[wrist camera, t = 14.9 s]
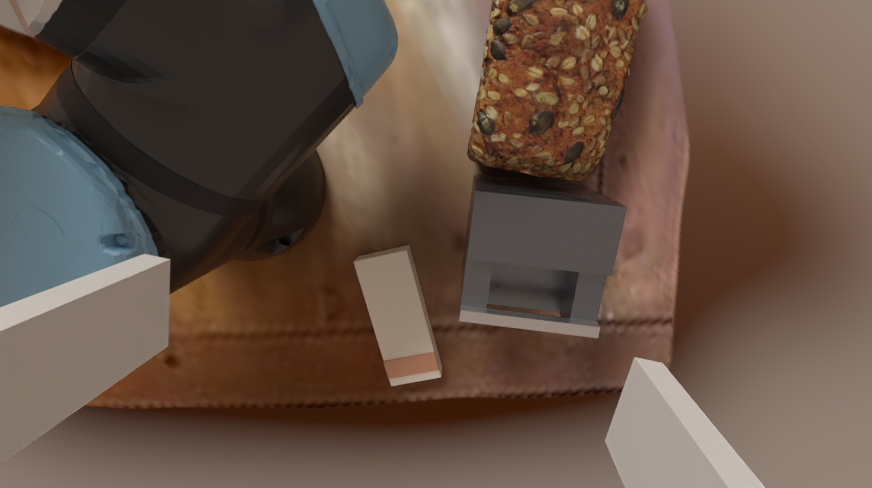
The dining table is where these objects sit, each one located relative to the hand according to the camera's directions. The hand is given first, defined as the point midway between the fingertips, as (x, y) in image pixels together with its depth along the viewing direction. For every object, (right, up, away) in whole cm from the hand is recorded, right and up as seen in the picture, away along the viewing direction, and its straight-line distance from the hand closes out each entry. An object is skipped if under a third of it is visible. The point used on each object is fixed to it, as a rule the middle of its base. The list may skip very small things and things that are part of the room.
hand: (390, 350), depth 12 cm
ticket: (-2, -4, +33) cm, 34 cm away
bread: (+11, +19, +26) cm, 34 cm away
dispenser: (+10, +4, +30) cm, 32 cm away
